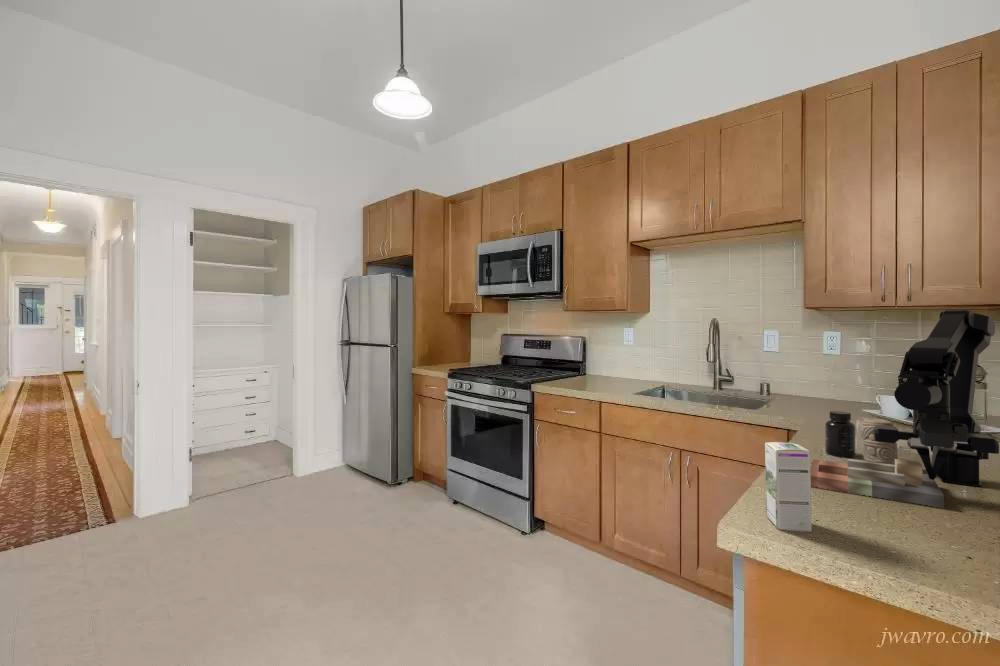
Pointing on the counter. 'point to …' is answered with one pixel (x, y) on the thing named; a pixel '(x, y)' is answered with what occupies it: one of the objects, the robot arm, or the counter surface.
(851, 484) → the channel deck
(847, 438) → the supplement bottle
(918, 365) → the robot arm
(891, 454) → the carving
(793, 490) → the syrup box
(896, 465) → the maple block
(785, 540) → the counter surface
